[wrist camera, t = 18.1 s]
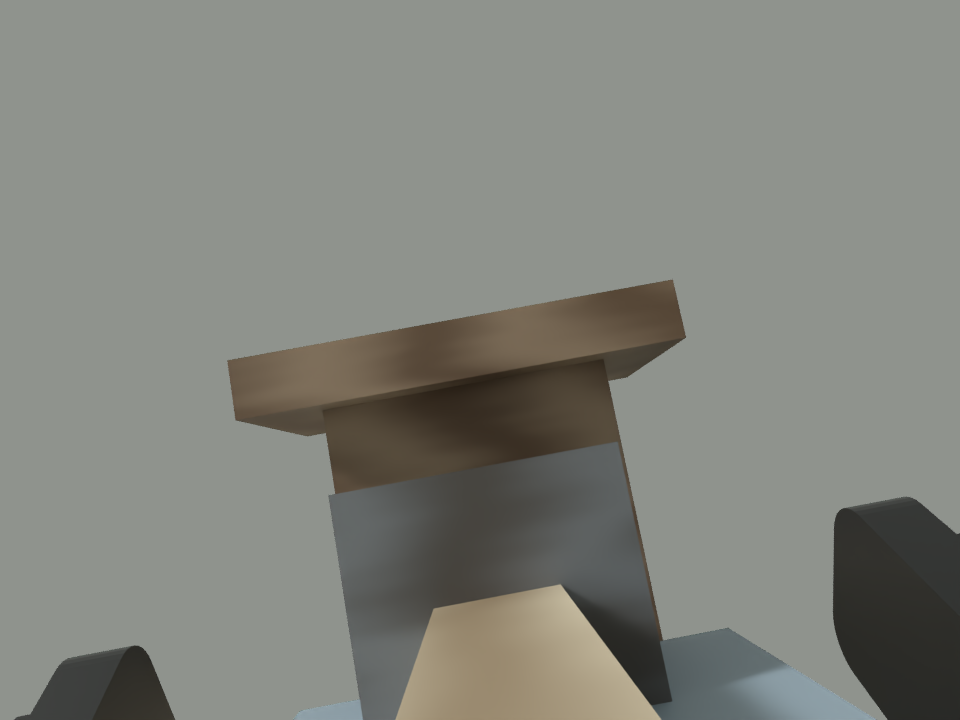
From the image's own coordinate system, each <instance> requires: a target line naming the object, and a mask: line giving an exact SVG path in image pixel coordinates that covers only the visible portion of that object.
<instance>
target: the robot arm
mask: <svg viewBox="0 0 960 720" xmlns="http://www.w3.org/2000/svg"><path fill="white" fill-rule="evenodd" d="M833 583H834V584H833V619H834V626H835V631H836V635H837V638H838V642H839V645H840V647H841V650H842V652H843V655H844V657H845V659H846V661H847V663H848V665H849V666H850V668H851V670H852V671H853V673H854V674H855V676H856V677H857V678H858V680H859V681H860V682H861V684H862V685H863V686H864V688H865V689H866V690H867V692H868V693H869V695H870V696H871V697H872V699H873V700H874V701H875V703H876V704H877V706H878V707H879V708H880V710H881V711H882V712H883V714H884V715H885V717H886V718H887V719H888V720H960V534H956V533H955V532H953V531H952V530H951V529H950V528H949V527H948V526H946V525H945V524H944V523H943V522H942V521H940V520H939V519H938V518H937V517H936V516H935V515H934V514H932V513H931V512H930V511H929V510H928V509H927V508H925V507H924V506H923V505H922V504H921V503H919V502H918V501H917V500H915V499H913V498H910V497H901V498H895V499H890V500H885V501H880V502H875V503H870V504H864V505H859V506H854V507H848V508H843V509H841V510H840V511H839V512H838V513H837V515H836V518H835V524H834V581H833ZM15 720H175V718H174V716H173V713H172V711H171V709H170V706H169V704H168V701H167V699H166V696H165V694H164V691H163V689H162V686H161V684H160V681H159V679H158V677H157V674H156V672H155V669H154V667H153V665H152V662H151V660H150V658H149V655H148V654H147V653H146V651H145V650H144V649H143V648H141V647H139V646H130V647H124V648H119V649H114V650H109V651H103V652H99V653H93V654H88V655H83V656H77V657H72V658H68V659H66V660H65V661H63V662H62V663H61V664H60V665H59V666H58V668H57V669H56V671H55V673H54V675H53V676H52V678H51V680H50V681H49V683H48V685H47V687H46V688H45V690H44V692H43V694H42V695H41V697H40V699H39V700H38V702H37V704H36V706H35V708H34V709H33V711H32V713H31V714H30V715H25V716H20V717H17V718H16V719H15Z"/></svg>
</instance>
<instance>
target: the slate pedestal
mask: <svg viewBox="0 0 960 720" xmlns="http://www.w3.org/2000/svg"><path fill="white" fill-rule="evenodd" d="M660 645H661V649H662V654H663V659H664V664H665V668H666V673H667V678H668V683H669V687H670V692H671V697H672V702H667V703H662V704H657V705H652V708H653V709H654V710H655V712H656V713H657V714H658V716H659V717H660V718H661V720H876V719H875V718H873V717H872V716H870V715H868V714H867V713H865V712H863V711H862V710H860V709H859V708H857V707H855V706H854V705H852V704H850V703H849V702H847V701H846V700H844V699H842V698H841V697H839V696H837V695H835V694H834V693H833V692H831V691H829V690H828V689H826V688H824V687H823V686H821V685H820V684H818V683H817V682H815V681H813V680H811V679H810V678H808V677H807V676H805V675H804V674H802V673H800V672H799V671H797V670H795V669H794V668H792V667H791V666H789V665H787V664H786V663H784V662H783V661H781V660H779V659H778V658H776V657H774V656H773V655H771V654H770V653H768V652H766V651H765V650H763V649H761V648H760V647H758V646H757V645H755V644H753V643H752V642H750V641H749V640H747V639H745V638H744V637H742V636H740V635H739V634H737V633H736V632H734V631H732V630H731V629H729V628H725V629H720V630H715V631H710V632H705V633H699V634H695V635H689V636H684V637H679V638H673V639H669V640H663V641H660ZM293 720H363V717H362V710H361V704H360V699H359V700H353V701H348V702H343V703H338V704H333V705H327V706H323V707H318V708H312V709H307V710H302V711H299V713H298V714H297V715H296V717H295V718H294V719H293Z"/></svg>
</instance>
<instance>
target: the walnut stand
mask: <svg viewBox="0 0 960 720" xmlns="http://www.w3.org/2000/svg"><path fill="white" fill-rule="evenodd" d="M685 338H686V336H685V331H684V327H683V322H682V318H681V314H680V309H679V305H678V300H677V296H676V292H675V287H674V283H673V280H668V281H663V282H657V283H652V284H646V285H640V286H635V287H629V288H624V289H619V290H613V291H607V292H602V293H596V294H591V295H586V296H580V297H574V298H569V299H563V300H558V301H552V302H547V303H541V304H536V305H530V306H525V307H519V308H514V309H508V310H503V311H498V312H492V313H487V314H481V315H475V316H470V317H464V318H459V319H453V320H447V321H442V322H437V323H431V324H425V325H420V326H414V327H409V328H404V329H398V330H392V331H387V332H382V333H376V334H370V335H365V336H360V337H354V338H349V339H343V340H338V341H332V342H326V343H321V344H315V345H310V346H305V347H299V348H293V349H288V350H282V351H277V352H272V353H266V354H260V355H255V356H250V357H244V358H238V359H233V360H228V368H229V376H230V383H231V390H232V397H233V405H234V411H235V419H236V420H237V421H241V422H246V423H250V424H255V425H259V426H264V427H268V428H272V429H277V430H281V431H286V432H290V433H295V434H299V435H304V436H312V435H317V434H323V433H326V436H327V443H328V449H329V456H330V461H331V469H332V475H333V481H334V488H335V494H339V493H344V492H350V491H355V490H360V489H366V488H371V487H376V486H382V485H387V484H392V483H398V482H403V481H408V480H414V479H419V478H425V477H430V476H435V475H441V474H446V473H451V472H457V471H462V470H467V469H473V468H478V467H483V466H489V465H494V464H500V463H505V462H510V461H516V460H521V459H526V458H532V457H537V456H542V455H548V454H553V453H558V452H564V451H569V450H575V449H580V448H585V447H591V446H596V445H601V444H607V443H612V442H617V441H618V445H619V449H620V454H621V459H622V464H623V469H624V473H625V478H626V483H627V488H628V492H629V497H630V502H631V507H632V511H633V516H634V521H635V526H636V530H637V535H638V540H639V545H640V549H641V554H642V559H643V564H644V568H645V573H646V578H647V583H648V587H649V592H650V597H651V602H652V607H653V611H654V616H655V621H656V626H657V630H658V635H659V640H660V641H663V639H662V634H661V629H660V625H659V620H658V615H657V611H656V606H655V601H654V597H653V591H652V587H651V582H650V577H649V572H648V568H647V563H646V558H645V553H644V549H643V544H642V539H641V534H640V530H639V525H638V520H637V515H636V511H635V506H634V501H633V496H632V492H631V487H630V482H629V478H628V473H627V468H626V463H625V458H624V454H623V449H622V445H621V440H620V435H619V430H618V425H617V421H616V417H615V411H614V407H613V402H612V397H611V392H610V387H609V383H608V381H610V380H615V379H621V378H626V377H628V376H630V375H631V374H632V373H634V372H635V371H637V370H639V369H640V368H641V367H643V366H644V365H646V364H647V363H649V362H650V361H652V360H653V359H655V358H656V357H658V356H659V355H661V354H662V353H664V352H665V351H667V350H668V349H670V348H671V347H673V346H674V345H676V344H677V343H679V342H680V341H681V340H683V339H685Z"/></svg>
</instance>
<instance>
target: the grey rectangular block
mask: <svg viewBox="0 0 960 720" xmlns="http://www.w3.org/2000/svg"><path fill="white" fill-rule="evenodd" d="M329 502H330V509H331V515H332V522H333V528H334V535H335V541H336V548H337V554H338V561H339V567H340V573H341V580H342V587H343V593H344V599H345V606H346V613H347V619H348V626H349V632H350V639H351V645H352V651H353V658H354V665H355V671H356V678H357V683H358V691H359V697H360V704H361V710H362V717H363V720H661V718H660V717H659V716H658V714H657V713H656V712H655V710H654V709H653V708H652V705H657V704H662V703H667V702H672V697H671V692H670V687H669V683H668V678H667V673H666V668H665V664H664V659H663V654H662V649H661V645H660V640H659V635H658V630H657V626H656V621H655V616H654V611H653V607H652V602H651V597H650V592H649V587H648V583H647V578H646V573H645V568H644V564H643V559H642V554H641V549H640V545H639V540H638V535H637V530H636V526H635V521H634V516H633V511H632V507H631V502H630V497H629V492H628V488H627V483H626V478H625V473H624V469H623V464H622V459H621V454H620V449H619V445H618V441H617V442H612V443H607V444H601V445H596V446H591V447H585V448H580V449H575V450H569V451H564V452H558V453H553V454H548V455H542V456H537V457H532V458H526V459H521V460H516V461H510V462H505V463H500V464H494V465H489V466H483V467H478V468H473V469H467V470H462V471H457V472H451V473H446V474H441V475H435V476H430V477H425V478H419V479H414V480H408V481H403V482H398V483H392V484H387V485H382V486H376V487H371V488H366V489H360V490H355V491H350V492H344V493H339V494H334V495H329Z"/></svg>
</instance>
